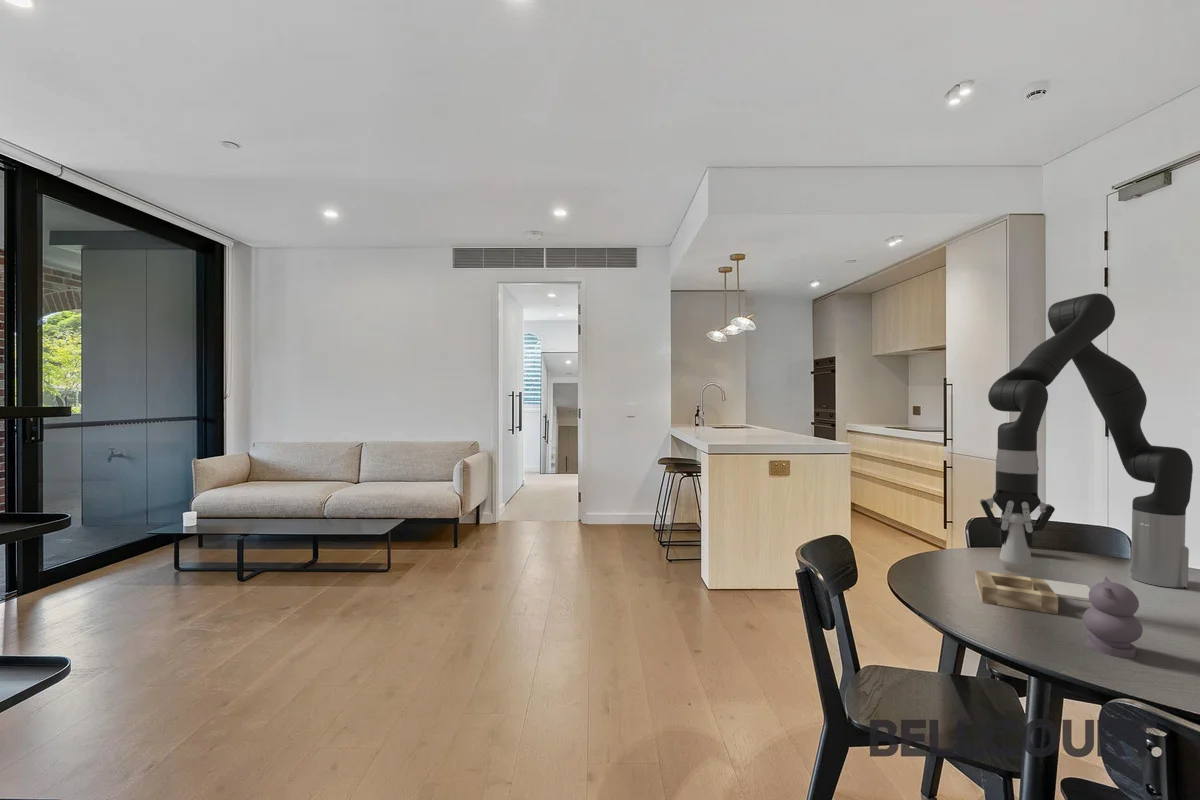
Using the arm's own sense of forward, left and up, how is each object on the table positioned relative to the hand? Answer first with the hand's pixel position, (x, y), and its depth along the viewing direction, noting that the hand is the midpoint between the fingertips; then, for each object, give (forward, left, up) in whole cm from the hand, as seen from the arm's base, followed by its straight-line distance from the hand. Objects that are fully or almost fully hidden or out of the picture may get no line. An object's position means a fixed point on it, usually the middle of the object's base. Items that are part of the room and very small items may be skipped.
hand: (1015, 546), depth 123 cm
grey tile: (-11, -12, -12) cm, 20 cm away
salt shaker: (0, 0, -5) cm, 5 cm away
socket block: (0, 0, -12) cm, 12 cm away
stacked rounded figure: (-11, +22, -12) cm, 27 cm away
